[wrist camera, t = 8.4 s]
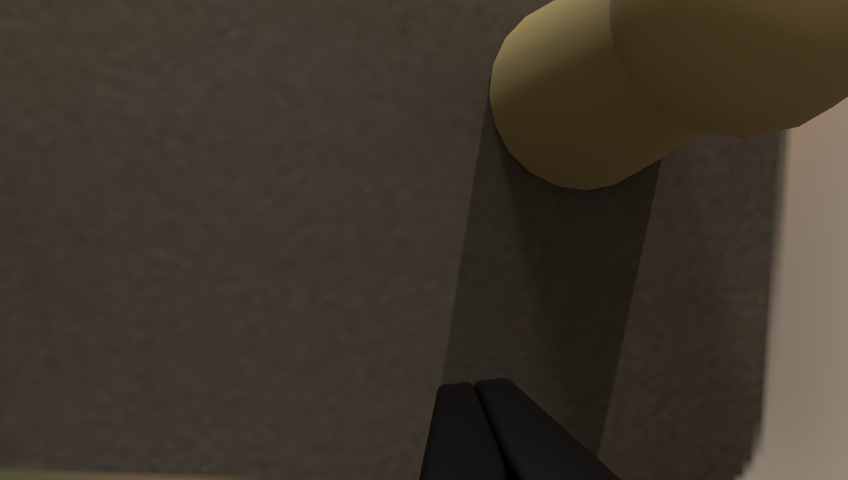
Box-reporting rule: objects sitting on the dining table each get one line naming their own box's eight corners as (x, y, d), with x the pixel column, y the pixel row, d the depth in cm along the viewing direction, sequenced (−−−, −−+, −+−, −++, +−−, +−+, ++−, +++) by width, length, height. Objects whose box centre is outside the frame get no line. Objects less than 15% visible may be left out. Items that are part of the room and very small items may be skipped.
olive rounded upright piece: (676, 188, 24) (970, 143, 13) (492, 192, 23) (641, 148, 12) (670, -1, 24) (958, -203, 13) (485, -3, 23) (629, -218, 12)
